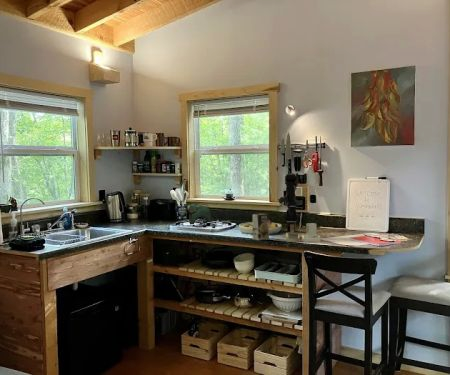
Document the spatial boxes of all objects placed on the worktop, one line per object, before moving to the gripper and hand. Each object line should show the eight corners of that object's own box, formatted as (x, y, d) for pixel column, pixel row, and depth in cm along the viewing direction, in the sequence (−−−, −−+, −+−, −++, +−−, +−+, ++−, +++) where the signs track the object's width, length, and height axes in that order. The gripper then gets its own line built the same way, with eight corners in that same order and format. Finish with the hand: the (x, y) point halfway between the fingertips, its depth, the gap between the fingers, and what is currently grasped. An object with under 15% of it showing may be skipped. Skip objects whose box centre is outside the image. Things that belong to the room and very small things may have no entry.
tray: (302, 238, 267) (302, 235, 267) (319, 238, 266) (319, 235, 266) (303, 241, 257) (303, 238, 257) (320, 241, 256) (320, 238, 255)
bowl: (280, 236, 279) (280, 224, 278) (235, 235, 284) (235, 223, 284) (282, 229, 308) (282, 218, 307) (242, 228, 314) (242, 217, 313)
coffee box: (258, 240, 263) (258, 214, 262) (252, 239, 268) (252, 214, 267) (269, 238, 268) (269, 213, 267) (262, 237, 273) (262, 212, 272)
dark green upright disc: (189, 227, 320) (189, 201, 319) (186, 225, 326) (185, 200, 325) (212, 224, 330) (212, 199, 329) (208, 223, 336) (208, 199, 334)
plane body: (285, 236, 276) (285, 224, 276) (298, 236, 275) (298, 224, 275) (286, 241, 258) (286, 228, 257) (299, 241, 257) (299, 228, 256)
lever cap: (306, 239, 263) (306, 223, 262) (313, 238, 264) (313, 223, 263) (308, 240, 259) (308, 224, 258) (316, 239, 260) (316, 224, 259)
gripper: (277, 192, 290) (277, 214, 290) (279, 193, 271) (279, 217, 272) (294, 192, 289) (294, 214, 290) (296, 193, 270) (296, 217, 271)
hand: (290, 215), depth 280 cm, fingers open, 9 cm apart
